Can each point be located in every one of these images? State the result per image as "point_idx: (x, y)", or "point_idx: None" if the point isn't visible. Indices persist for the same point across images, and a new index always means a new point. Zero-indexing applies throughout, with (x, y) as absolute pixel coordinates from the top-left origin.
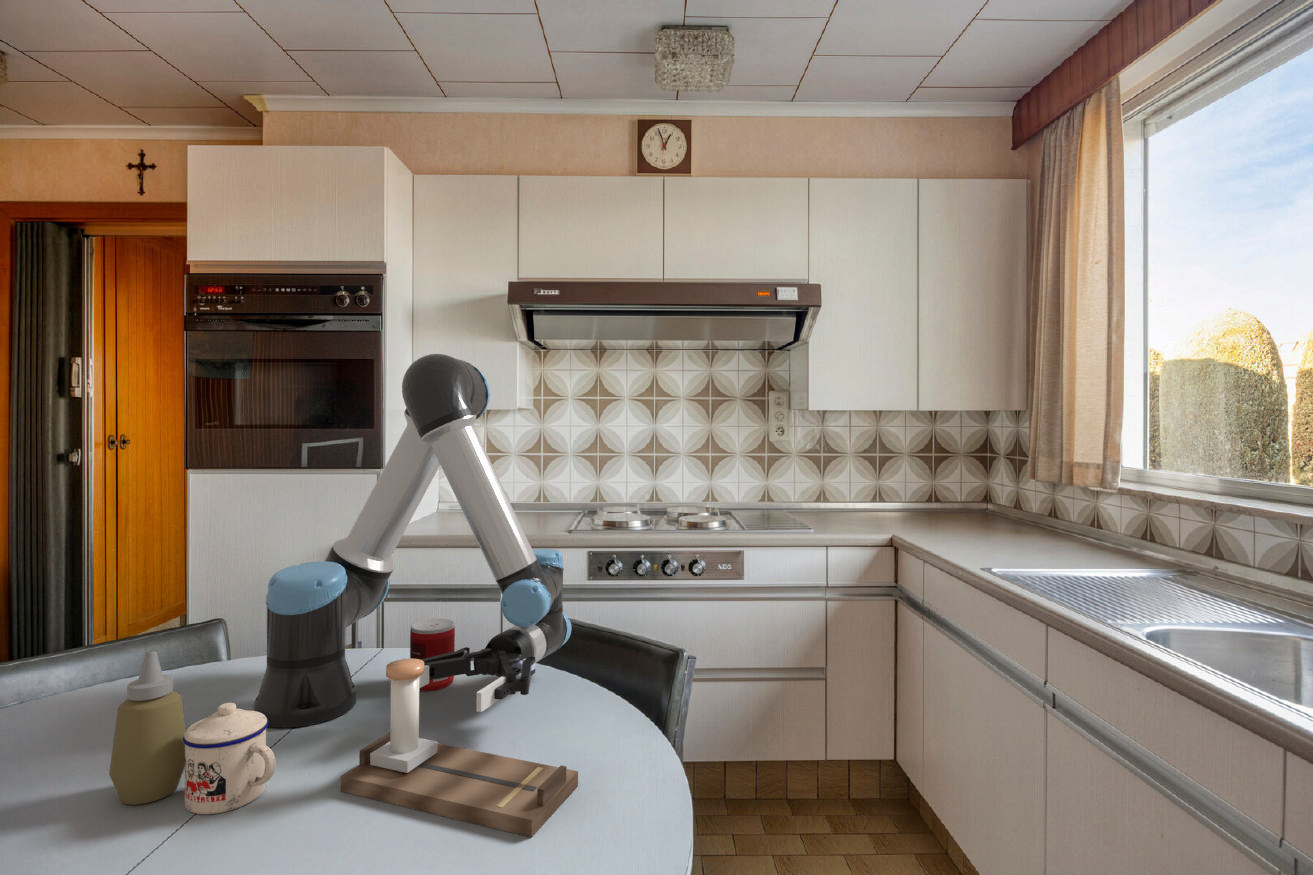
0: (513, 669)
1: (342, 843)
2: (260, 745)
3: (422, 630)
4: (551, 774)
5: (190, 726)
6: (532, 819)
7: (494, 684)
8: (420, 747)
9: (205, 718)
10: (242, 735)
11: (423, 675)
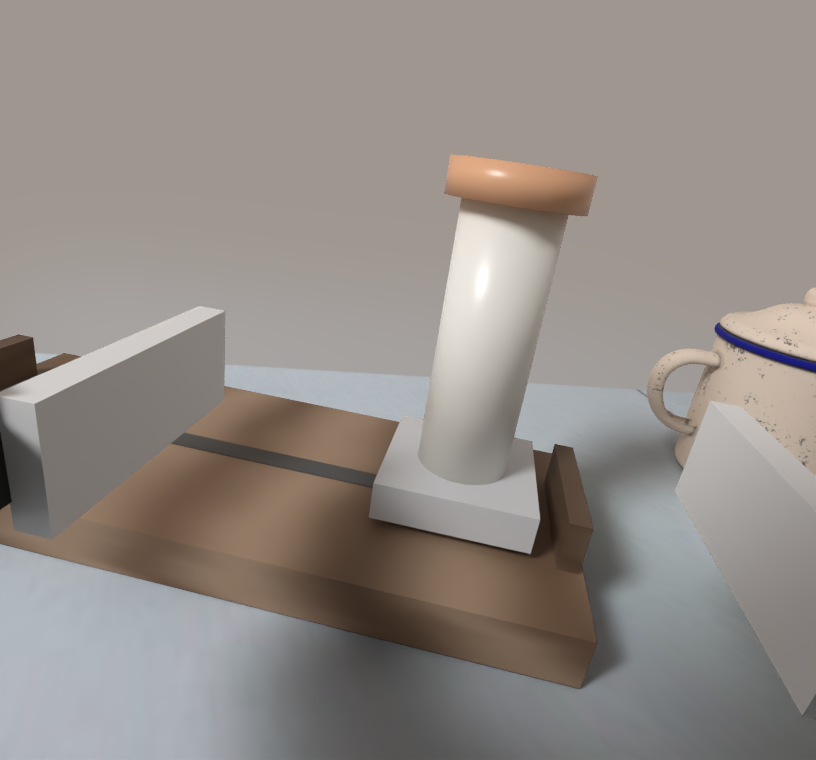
0: None
1: (415, 396)
2: (697, 350)
3: None
4: None
5: None
6: (62, 354)
7: (119, 340)
8: (409, 457)
9: None
10: (722, 320)
11: (801, 577)
